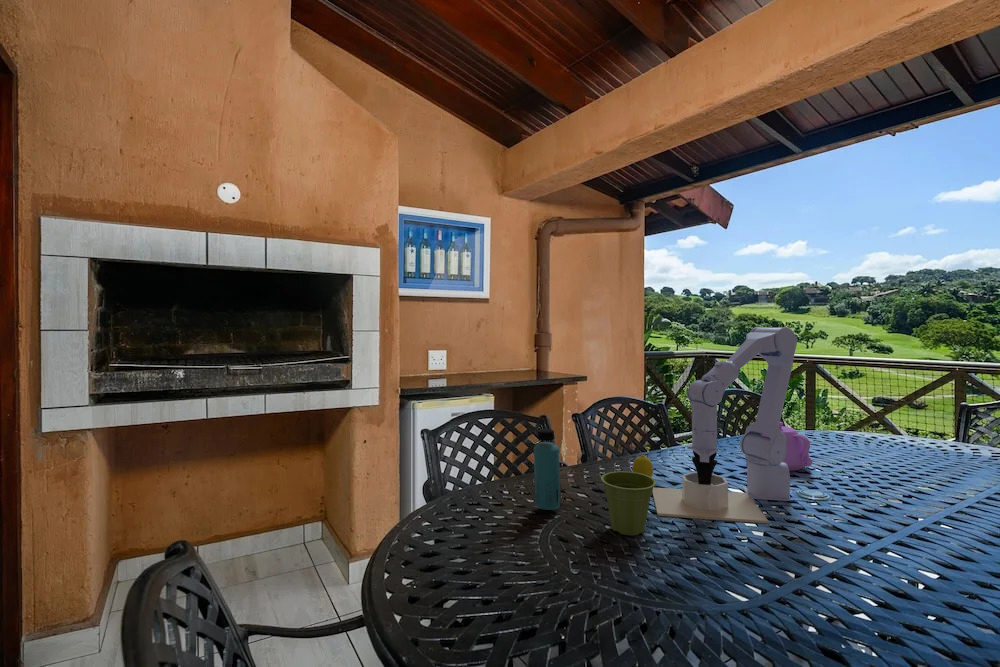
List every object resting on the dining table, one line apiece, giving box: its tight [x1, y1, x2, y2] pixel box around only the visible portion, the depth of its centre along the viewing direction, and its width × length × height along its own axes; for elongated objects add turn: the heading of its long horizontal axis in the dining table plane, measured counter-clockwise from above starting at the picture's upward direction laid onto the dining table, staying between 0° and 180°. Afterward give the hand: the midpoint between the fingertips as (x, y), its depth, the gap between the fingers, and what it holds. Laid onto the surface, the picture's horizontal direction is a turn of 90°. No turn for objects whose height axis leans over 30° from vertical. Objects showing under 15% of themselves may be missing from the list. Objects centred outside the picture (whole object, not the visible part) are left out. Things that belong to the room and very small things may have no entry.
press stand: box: [652, 471, 770, 524], centre depth 122 cm, size 24×18×7 cm
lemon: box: [632, 454, 654, 478], centre depth 139 cm, size 6×6×8 cm
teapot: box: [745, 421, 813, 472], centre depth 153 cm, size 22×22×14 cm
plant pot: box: [600, 470, 657, 537], centre depth 109 cm, size 12×12×11 cm
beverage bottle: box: [533, 428, 562, 511], centre depth 120 cm, size 6×7×20 cm
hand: (704, 483), depth 122 cm, fingers open, 5 cm apart
